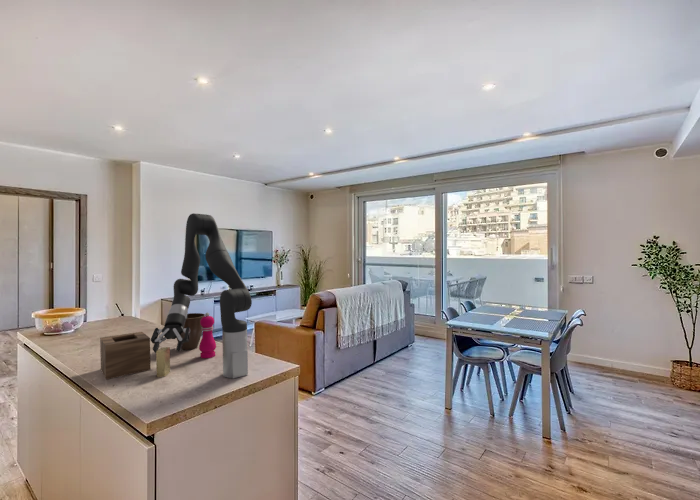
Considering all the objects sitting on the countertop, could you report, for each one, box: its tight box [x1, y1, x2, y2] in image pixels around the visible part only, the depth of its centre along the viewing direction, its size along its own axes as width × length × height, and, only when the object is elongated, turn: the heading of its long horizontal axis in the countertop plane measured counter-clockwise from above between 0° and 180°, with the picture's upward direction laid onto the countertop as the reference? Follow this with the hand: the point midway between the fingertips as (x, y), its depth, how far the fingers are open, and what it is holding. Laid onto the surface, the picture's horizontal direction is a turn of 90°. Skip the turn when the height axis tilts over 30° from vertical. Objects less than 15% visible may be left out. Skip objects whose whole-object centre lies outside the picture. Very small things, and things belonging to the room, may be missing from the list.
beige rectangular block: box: [155, 346, 171, 378], centre depth 136 cm, size 5×3×10 cm, turn 7°
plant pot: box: [176, 312, 206, 351], centre depth 172 cm, size 15×15×16 cm
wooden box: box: [99, 331, 152, 380], centre depth 142 cm, size 15×15×13 cm
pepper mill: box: [198, 312, 217, 359], centre depth 158 cm, size 7×7×20 cm
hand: (166, 351), depth 139 cm, fingers open, 8 cm apart
